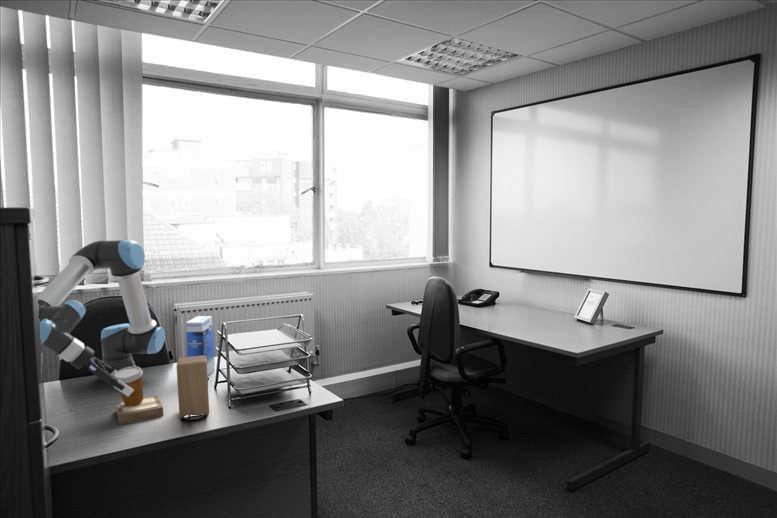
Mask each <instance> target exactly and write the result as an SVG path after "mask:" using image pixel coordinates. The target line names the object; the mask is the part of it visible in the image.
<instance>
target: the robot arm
mask: <svg viewBox="0 0 777 518" xmlns="http://www.w3.org/2000/svg"><path fill="white" fill-rule="evenodd" d="M145 258H146V256H145V251H144V248H143V246H142V245H141V244H140V243H139V242H137V241H136V240H128V239H121V240H119V239H118V240H97V241H93V242H91V243H89V244H86V245H85V246H83V247H81V248H80V249H79V250H77V251H76V252H75V253H74V254H73V255H72V256H71V257H70V258H69V259H68V264H67V265H66V266H65V267H64V268H63V269H62V270H61V271H60V272H59V273H58V274H57V275H56V276H55V277H54V278H53V279H52V280H51V281H50V282H49V284H48V285H46V287H45V288H44V289H43V290H42V291H41V292H39V294H38V295H37V296H38V304H39V319H40V339H41V345H40V346H41V347H43V348H44V349H46V350H48V351H49V352H51V353H52V354H54V355H55V356H57V357H59V358H58V360H60V361H61V360H64V361H65V362H67V363H68V362H69V365H71V366H73V367H74V368H76V369H78V370H80V369H82V368H83V367H85V366H86V367H87V371H89V372H90V373H92V374H93V375H94V376H96V377H97V378H98V379H99V380H100V381H102V382H104V383H105V384H107V385H108V389H112V388H114V389H115V390H117V391H118V392H122V393H123V394H125V395H126V396H128V397H129V395H130V394H131V393H132V392H133V391H134V390H133V389H132V388H130V387H129V386H127V385H126V384H124V383H123V382H121V381H120V380H117V379H116V378H114V377H115V373H116V372H118V371H119V370H121V369H124V368H127V367H133V366H136V364H135V363H136V362H135V361H134V359H133V355H132V354H148V355H150V354H157V353H158V352H160V351H161V349H162V348H163V346H164V343H165V339H166V333H165V332H166V331H165V329H164V327H161V326H158V324H157V321H156V320H155V319H153V318H152V317H151V316H152V315H151V313H150V310H149V304H148V301H147V298H146V294H145V290H144V286H143V283H142V279H141V276H140V272H141V271H142V269H143V268H142V267H143V266H144V264H145V262H146V261H145V260H146V259H145ZM100 269H102V270H103V269H105V270H107V269H108V270H109V271H110V275H111V276H112V277H114V278H116V280H117V283H118V287H119V291H120V293H121V294H120V295H121V296H122V297H121V298H122V300H123V301H122V302H123V304H124V308H125V310H126V314H127V315H126V316H127V318H128V321H129V323H120V324H115V325H111V326H108V327H105V328H102V330H101V332H100V341H101V343H100V344H101V353H102V354H101V355H102V360H101V359H99V358H97V357H95V356H94V355H95V353H96V351H95V350H94V349H93V348H91V347H89V346H88V345H85V343H84V342H82V341H81V340H80V339H78V338H76V337H75V336H73V335H72V334H71V333H72V332H73V330H74V329H75V327H77V325H78V324H79V323H80V322H81V321H82V319H83V317H84V315H85V314H86V311H87V310H86V307H85V305H84V304H83V303H82V302H80V301H79V300H75V299H69V300H67V301H65V299H66V298H67V297H68V296H69V295H70V294H71V293H72V292H73V291H74V290H75V289H76V287H78V285H79V284H80V283H81V282H82V281H83V280H84V278H86V276H89V275H92V273H94V272H95V271H96V270H100ZM64 301H65V302H64ZM63 302H64V303H63ZM61 304H62V305H61Z"/></svg>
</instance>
